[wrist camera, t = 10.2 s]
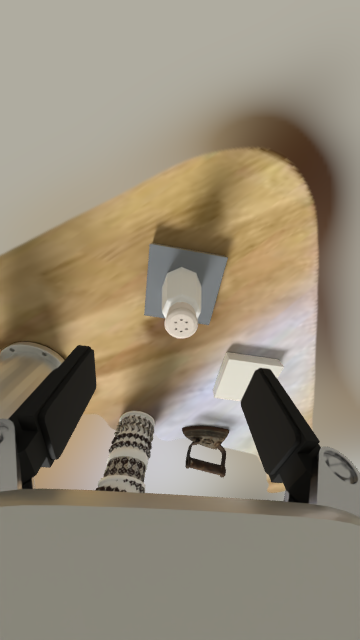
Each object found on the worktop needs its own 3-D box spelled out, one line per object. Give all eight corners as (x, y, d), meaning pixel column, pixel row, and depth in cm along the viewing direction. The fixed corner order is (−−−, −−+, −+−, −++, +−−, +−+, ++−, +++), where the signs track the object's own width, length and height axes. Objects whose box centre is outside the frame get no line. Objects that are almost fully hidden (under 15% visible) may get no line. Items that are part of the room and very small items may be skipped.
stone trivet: (212, 389, 36) (214, 397, 34) (226, 351, 32) (228, 359, 30) (258, 395, 37) (262, 403, 35) (278, 359, 32) (283, 366, 30)
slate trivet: (146, 309, 28) (144, 315, 26) (152, 242, 23) (149, 243, 21) (207, 319, 28) (208, 324, 27) (224, 255, 24) (227, 257, 22)
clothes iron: (219, 442, 46) (216, 491, 38) (180, 424, 47) (169, 467, 39) (231, 430, 43) (230, 481, 34) (189, 410, 43) (178, 455, 35)
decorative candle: (160, 414, 40) (133, 641, 18) (151, 435, 44) (120, 642, 22) (121, 406, 39) (40, 638, 17) (115, 429, 43) (45, 640, 21)
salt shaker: (161, 266, 23) (144, 294, 13) (202, 266, 23) (217, 294, 13) (163, 305, 25) (151, 352, 15) (200, 304, 25) (211, 352, 15)
